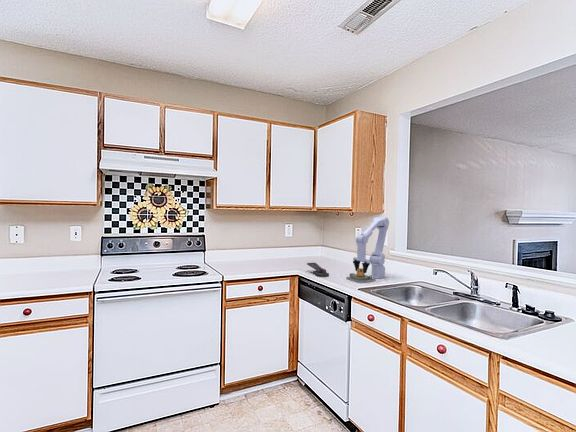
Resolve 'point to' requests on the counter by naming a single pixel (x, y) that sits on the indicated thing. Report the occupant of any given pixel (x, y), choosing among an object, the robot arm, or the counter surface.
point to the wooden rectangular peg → (360, 272)
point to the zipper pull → (318, 270)
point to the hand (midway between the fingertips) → (360, 272)
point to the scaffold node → (360, 278)
